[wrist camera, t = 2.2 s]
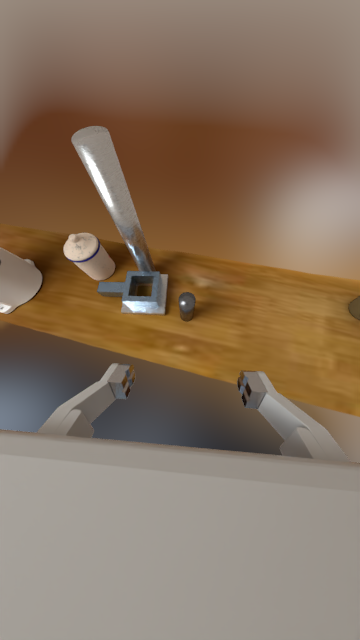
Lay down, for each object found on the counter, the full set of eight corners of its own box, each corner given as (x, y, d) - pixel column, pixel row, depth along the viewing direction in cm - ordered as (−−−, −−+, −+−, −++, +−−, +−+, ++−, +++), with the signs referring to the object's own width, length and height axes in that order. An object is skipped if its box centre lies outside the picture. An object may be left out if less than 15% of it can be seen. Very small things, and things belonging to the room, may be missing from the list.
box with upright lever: (102, 313, 37) (-72, 218, 12) (113, 268, 41) (2, 130, 16) (165, 315, 36) (119, 217, 11) (169, 269, 40) (142, 123, 15)
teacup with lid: (120, 260, 42) (97, 225, 31) (109, 284, 39) (79, 255, 28) (88, 254, 43) (55, 217, 32) (75, 276, 41) (34, 245, 30)
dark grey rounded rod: (180, 321, 35) (178, 307, 26) (180, 309, 36) (179, 292, 27) (192, 321, 35) (195, 307, 25) (192, 309, 36) (195, 292, 26)
